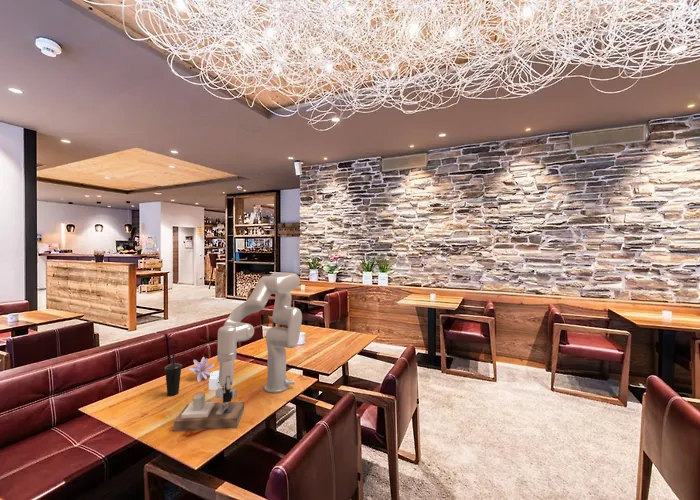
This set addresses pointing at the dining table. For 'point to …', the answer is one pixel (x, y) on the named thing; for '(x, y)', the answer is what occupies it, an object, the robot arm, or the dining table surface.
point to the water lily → (201, 368)
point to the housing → (212, 419)
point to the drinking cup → (173, 378)
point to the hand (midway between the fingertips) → (226, 398)
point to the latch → (220, 395)
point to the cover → (198, 407)
